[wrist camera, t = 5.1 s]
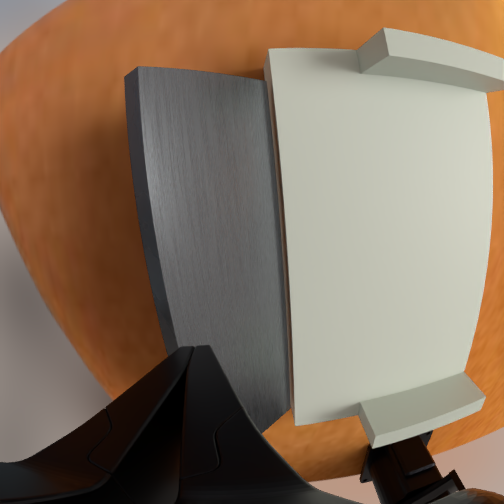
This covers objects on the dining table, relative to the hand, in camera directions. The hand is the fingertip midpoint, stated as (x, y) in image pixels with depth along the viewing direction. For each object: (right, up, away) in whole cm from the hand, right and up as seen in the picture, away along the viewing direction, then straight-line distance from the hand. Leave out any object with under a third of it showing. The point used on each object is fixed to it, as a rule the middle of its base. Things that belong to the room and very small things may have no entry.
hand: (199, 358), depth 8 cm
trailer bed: (+9, +3, +9) cm, 13 cm away
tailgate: (+3, +2, +6) cm, 7 cm away
